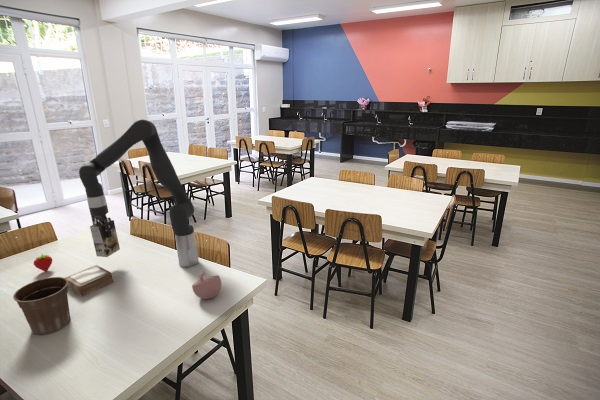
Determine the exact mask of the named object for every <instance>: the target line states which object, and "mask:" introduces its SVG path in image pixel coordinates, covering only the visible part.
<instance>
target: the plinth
mask: <svg viewBox="0 0 600 400" xmlns="http://www.w3.org/2000/svg"><path fill="white" fill-rule="evenodd" d="M64 278H65V279H67V280H68V285H67V288H68V290H70V291H72V292H74V293H75V294H77V295H78V296H80V297H81V298H82V297H85V296H87V295H89V294H91V293H93V292H96V291H97V290H100V289H102V288H104V287H107V286H109V285H111V284H113V283H114V282H115V281H114V276H113V273H112V272H111V271H109V270H107V269H106V268H104V267H101V266H100V265H97V264H95V265H93V266H90V267H88V268H86V269H83V270H81V271H78V272H76V273H73V274H71V275H68V276H66V277H64Z"/></svg>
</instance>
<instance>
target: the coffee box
mask: <svg viewBox="0 0 600 400" xmlns="http://www.w3.org/2000/svg"><path fill="white" fill-rule="evenodd" d="M111 222H112V226H113V229H111V234H112V237H110V238H107V237H106V232H105V229H104V227H103V226H104V225H105V224H103V226H102V225H100V224H98V223H97V224H94V225H93V224H91V225H89V229H90V233H91V237H92V241H93V245H94V246H93V247H94V250H95V255H96V257H101V258H109V257H110V256H112V255H114V253H116V252H118V251H120V250H121V248H120V243H119V238H118V233H117V229H116V225H115V220H113V219H111ZM105 227H106V226H105Z"/></svg>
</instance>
